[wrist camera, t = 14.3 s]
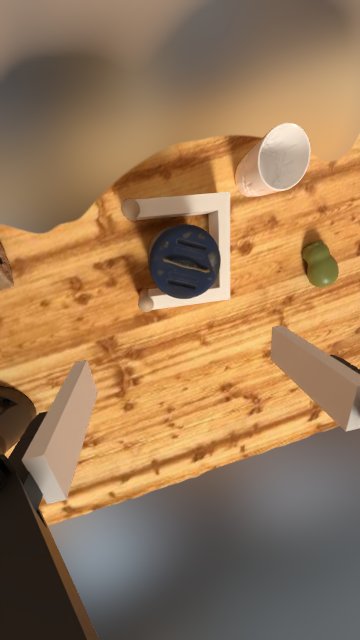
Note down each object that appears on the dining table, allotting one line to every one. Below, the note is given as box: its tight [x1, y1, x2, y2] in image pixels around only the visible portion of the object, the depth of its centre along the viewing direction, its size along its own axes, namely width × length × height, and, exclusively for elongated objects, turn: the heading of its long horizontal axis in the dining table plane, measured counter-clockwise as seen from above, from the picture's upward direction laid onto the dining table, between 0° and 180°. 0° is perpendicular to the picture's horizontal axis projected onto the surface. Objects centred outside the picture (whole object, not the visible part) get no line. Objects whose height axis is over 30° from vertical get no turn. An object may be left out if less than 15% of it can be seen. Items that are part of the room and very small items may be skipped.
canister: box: [148, 224, 221, 299], centre depth 34 cm, size 10×10×18 cm
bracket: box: [121, 192, 230, 312], centre depth 39 cm, size 17×18×6 cm
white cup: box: [235, 123, 311, 197], centre depth 34 cm, size 8×8×10 cm
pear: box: [302, 240, 338, 287], centre depth 45 cm, size 6×5×10 cm
